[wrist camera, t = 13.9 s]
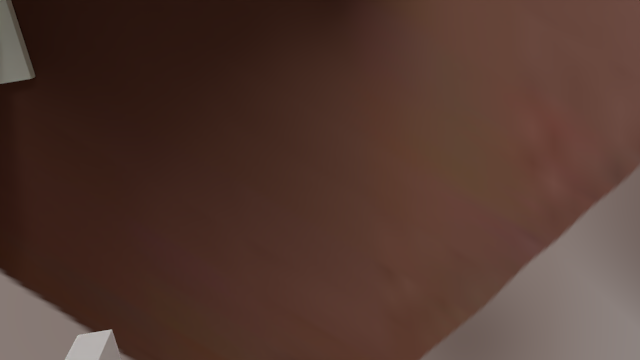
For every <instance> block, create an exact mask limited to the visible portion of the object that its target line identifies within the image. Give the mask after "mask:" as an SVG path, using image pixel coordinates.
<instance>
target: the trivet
mask: <svg viewBox="0 0 640 360" xmlns="http://www.w3.org/2000/svg"><path fill="white" fill-rule="evenodd" d="M34 77H36V76H35V73H34V70H33V67H32V64H31V61H30V58H29V54H28V51H27V48H26V45H25V42H24V39H23V36H22V33H21V30H20V26H19V23H18V20H17V17H16V14H15V11H14V8H13V5H12V2H11V0H0V84H3V83H9V82H15V81H21V80H27V79H32V78H34Z"/></svg>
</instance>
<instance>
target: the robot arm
mask: <svg viewBox="0 0 640 360" xmlns="http://www.w3.org/2000/svg"><path fill="white" fill-rule="evenodd" d="M65 360H122V359H121V356H120V353H119V350H118V347H117V344H116V341H115V337H114V334H113V331H112V329H111V330H105V331H99V332H93V333H87V334H81V335H77V337H76V339H75V341H74V343H73V345H72V347H71V349H70V351H69V353H68V355H67V356H66V358H65Z"/></svg>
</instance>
